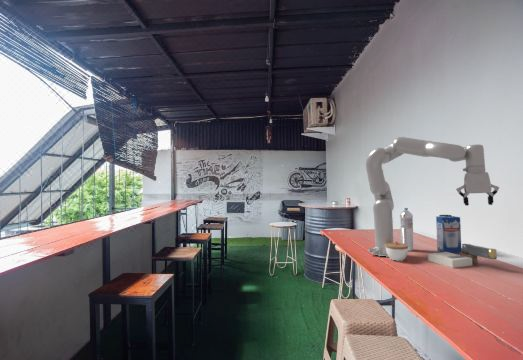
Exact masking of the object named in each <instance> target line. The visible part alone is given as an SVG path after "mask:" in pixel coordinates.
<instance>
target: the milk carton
mask: <svg viewBox="0 0 523 360" xmlns="http://www.w3.org/2000/svg"><path fill="white" fill-rule="evenodd" d="M435 217H436V219H435V220H436V221H435V223H436V225H435V226H436V245H437V247H436V249H437V251H438V253H440V252H449V253H453V254H459V253H460V252H462V233H461V232H462V231H461V229H462V228H461V227H462V226H461V216H455V215H452V216H439V215H438V216H435Z"/></svg>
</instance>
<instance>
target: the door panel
mask: <svg viewBox="0 0 523 360" xmlns="http://www.w3.org/2000/svg"><path fill="white" fill-rule="evenodd" d="M427 261H428V262H431V263H435V264H438V265H441V266H445V267H448V268H452V269H455V268H464V267H472V266H473V265H472V258H470V257H466V256H462V255H459V254H458V253H449V252H431V253H427Z"/></svg>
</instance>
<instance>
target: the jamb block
mask: <svg viewBox="0 0 523 360" xmlns="http://www.w3.org/2000/svg"><path fill="white" fill-rule="evenodd" d="M458 255H462V256H466V257H470V258H472V266H473V265H478V256H476V255H472V254H466V253H463V252H462V251H461V252H460V253H458Z"/></svg>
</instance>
